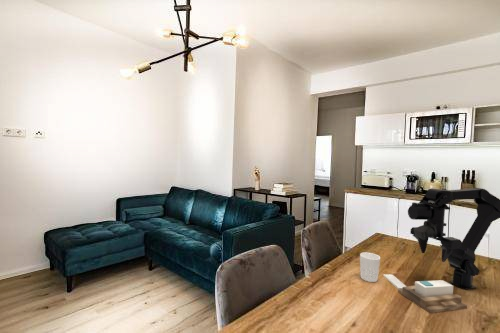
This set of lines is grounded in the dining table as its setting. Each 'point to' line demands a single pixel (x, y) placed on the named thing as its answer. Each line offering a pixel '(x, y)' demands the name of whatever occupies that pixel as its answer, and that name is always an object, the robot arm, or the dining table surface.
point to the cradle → (433, 300)
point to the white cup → (369, 266)
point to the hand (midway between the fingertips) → (432, 257)
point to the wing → (394, 281)
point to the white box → (433, 288)
